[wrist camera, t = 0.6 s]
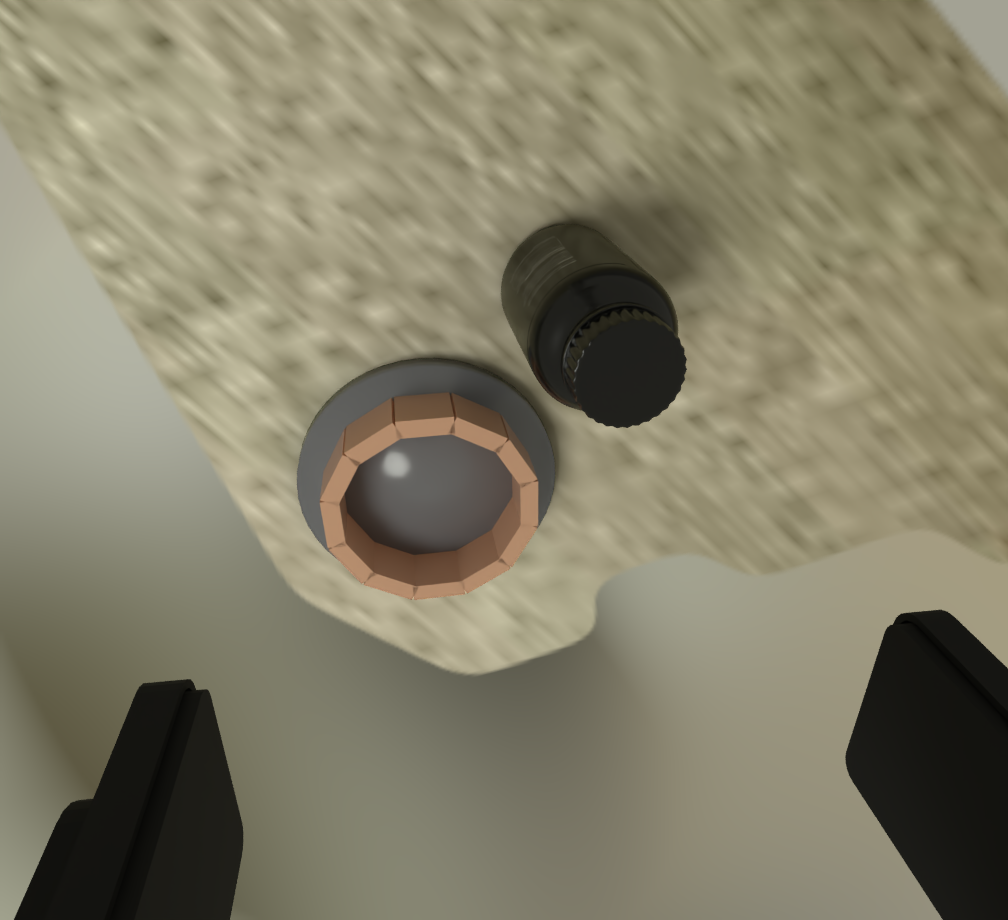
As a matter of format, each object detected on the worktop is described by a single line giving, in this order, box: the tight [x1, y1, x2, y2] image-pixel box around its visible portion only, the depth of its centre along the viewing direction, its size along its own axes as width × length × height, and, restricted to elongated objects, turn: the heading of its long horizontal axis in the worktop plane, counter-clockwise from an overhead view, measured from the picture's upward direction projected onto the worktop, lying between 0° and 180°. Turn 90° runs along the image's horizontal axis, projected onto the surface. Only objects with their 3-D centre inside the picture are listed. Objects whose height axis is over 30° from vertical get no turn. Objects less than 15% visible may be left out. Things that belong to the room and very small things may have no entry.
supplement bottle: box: [501, 224, 687, 428], centre depth 34 cm, size 7×7×12 cm
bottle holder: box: [297, 358, 555, 600], centre depth 42 cm, size 15×15×4 cm
